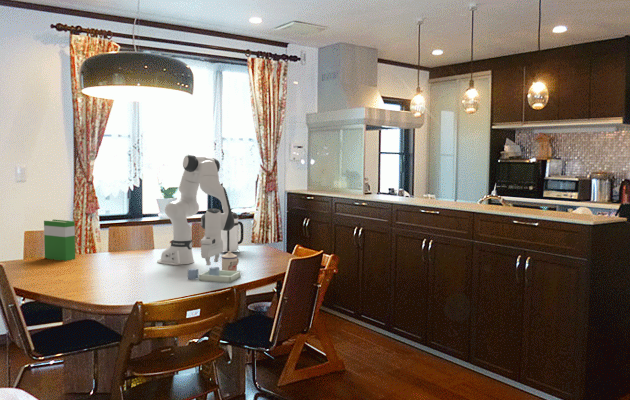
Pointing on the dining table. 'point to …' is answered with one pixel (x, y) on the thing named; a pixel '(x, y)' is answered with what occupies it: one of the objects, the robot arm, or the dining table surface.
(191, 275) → the blue block
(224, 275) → the sage tray
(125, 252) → the dining table surface
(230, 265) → the teacup with lid
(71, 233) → the cereal box
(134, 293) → the dining table surface
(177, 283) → the dining table surface
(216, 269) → the blue block
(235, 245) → the coffee press
